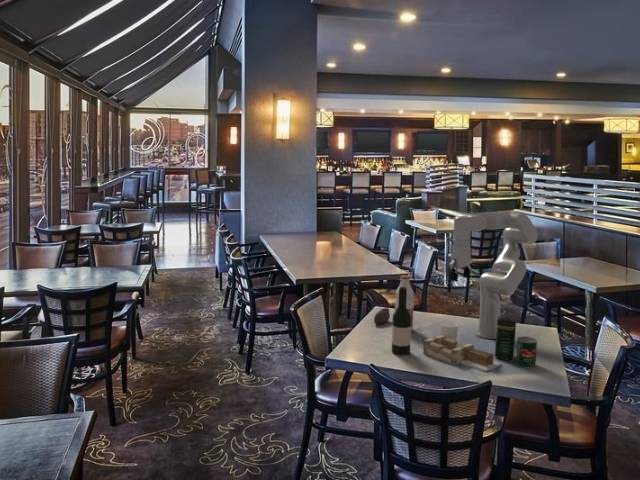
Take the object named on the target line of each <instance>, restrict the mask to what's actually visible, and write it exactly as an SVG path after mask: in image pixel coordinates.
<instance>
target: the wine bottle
mask: <svg viewBox="0 0 640 480" xmlns="http://www.w3.org/2000/svg"><path fill="white" fill-rule="evenodd" d="M406 296H407V289H406V287H404V286H401V287H400V288H399V307H398V308H397V310H396V311H395V310H394V313H393V314H392V325H391V326H392V332H391V352H392V353H391V354H394V355H396V356H407V355H410V354H411V342H412V341H411V339H412V334H411V333H412V331H411V316H410V314H409V312H408V310H407V308H406Z"/></svg>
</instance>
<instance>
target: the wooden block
mask: <svg viewBox="0 0 640 480" xmlns="http://www.w3.org/2000/svg"><path fill="white" fill-rule="evenodd" d="M494 356H495V353H491V352H488V351H485V350H481V349H477V348H472V349H469V350H466V359H467V360H470V361H473V362H476V363H479V364H482V365H485V366H488V365H490V364H493V360H494Z"/></svg>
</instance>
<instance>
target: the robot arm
mask: <svg viewBox="0 0 640 480" xmlns="http://www.w3.org/2000/svg"><path fill="white" fill-rule="evenodd" d="M501 229H502V230H503V229H504V231H503V243H504V244H503V246H504V247H503V249H502V251H501V252H500V254H499V256H498V257H497V258H496V259H495V261H494V263H493V265H492V271H491V272H490V271H489V272H484V273H482V274H481V275H480V276H479V280H478V285H479V292H480V294H479V295H480V303H479V319H478V329H477V330H475V333H474V334H475V336H477V337H479V338H482V339H487V340H488V339H489V340H496V331H497V319H498V317H499V316H501V297H500V295H501V296H511V295H512V294H513V293H514V292H515V291H516V289H517V288H518V286H519V285H520V284H521V282H522V280H523V279H524V277H525V275H526V272H527V265H526V263H525V261H523V260H522V259H520V256H521V251H520V248H519V244H526V245H533V244H534V243H536V242H537V240H538V237H539V236H538V229H537V228H536V226H535V225H534V224H533V222H532V220H531V219H530V218H529V216H528V215H527V214H526V213H524V212H523V211H513V210H509V211H508V210H504V211H503V210H502V211H501V210H500V211H486V212H466V213H465V212H464V213H460V214H459V215H457V216H456V215H455V216H454V218H453V240H452V242H453V243H452V244H453V246H452V247H451V253H450V262H449V263H448V266H449V270H450V274H451V276H450V277H451V281H453V282H458V278H459V272H458V271H459V269H461V268H464V269H463V274H462V275H463V278H467V279H470V278H471V269H472V266H473V261H474V260H473V258H471V257H472V255H471V254H472V252H471V234H472V233H471V232H481V231H483V230H490V231H491V230H501Z"/></svg>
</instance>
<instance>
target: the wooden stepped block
mask: <svg viewBox="0 0 640 480" xmlns="http://www.w3.org/2000/svg"><path fill="white" fill-rule="evenodd" d="M474 346H475V345H474V344H473V343H466V344H464V345H463V344H461V343H458V340H456V341H455V340H452V339H449V338H446V336H444V335H441V334H440V335H436V336H434V337H431V338H427V339H424V340H423V348H422V350H423V353H422V354H423V355H426V356H429V357H431V358H434V359H436V360H439V361H443V362H445V363H448V364H451V365H454V366H455V365H458V364H461V361H463V360H465V359H466V350H469V349H472V348H474Z"/></svg>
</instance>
